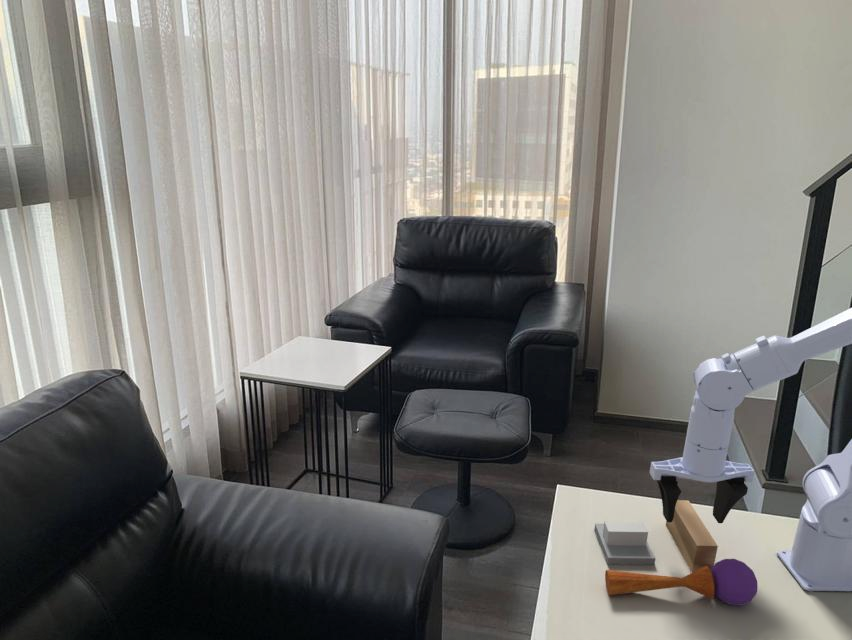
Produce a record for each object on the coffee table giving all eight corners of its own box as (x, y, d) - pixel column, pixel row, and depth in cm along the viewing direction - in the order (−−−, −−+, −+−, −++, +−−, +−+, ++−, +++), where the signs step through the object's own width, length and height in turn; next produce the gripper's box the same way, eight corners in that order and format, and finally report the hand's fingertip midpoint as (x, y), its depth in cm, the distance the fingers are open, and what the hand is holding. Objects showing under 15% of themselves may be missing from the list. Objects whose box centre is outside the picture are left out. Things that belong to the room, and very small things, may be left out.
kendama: (603, 552, 91) (746, 550, 90) (603, 590, 92) (745, 589, 91) (611, 574, 86) (765, 572, 84) (612, 615, 86) (764, 614, 85)
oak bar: (683, 526, 103) (688, 500, 102) (712, 574, 93) (717, 545, 91) (665, 526, 103) (669, 500, 102) (691, 573, 93) (697, 545, 91)
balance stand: (637, 530, 102) (640, 511, 101) (654, 565, 94) (657, 544, 93) (594, 529, 102) (596, 510, 101) (607, 564, 94) (610, 543, 93)
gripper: (744, 427, 96) (728, 503, 100) (648, 425, 96) (636, 501, 100) (767, 452, 89) (749, 532, 94) (664, 449, 89) (651, 530, 94)
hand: (692, 518), depth 96 cm, fingers open, 7 cm apart
